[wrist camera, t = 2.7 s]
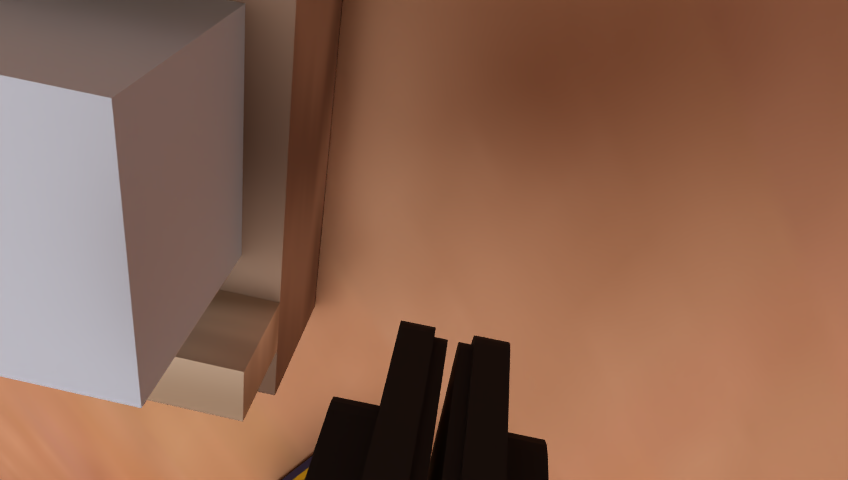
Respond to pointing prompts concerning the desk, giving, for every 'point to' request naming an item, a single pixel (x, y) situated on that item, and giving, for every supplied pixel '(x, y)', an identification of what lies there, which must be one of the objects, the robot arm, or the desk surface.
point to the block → (115, 185)
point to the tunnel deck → (268, 214)
